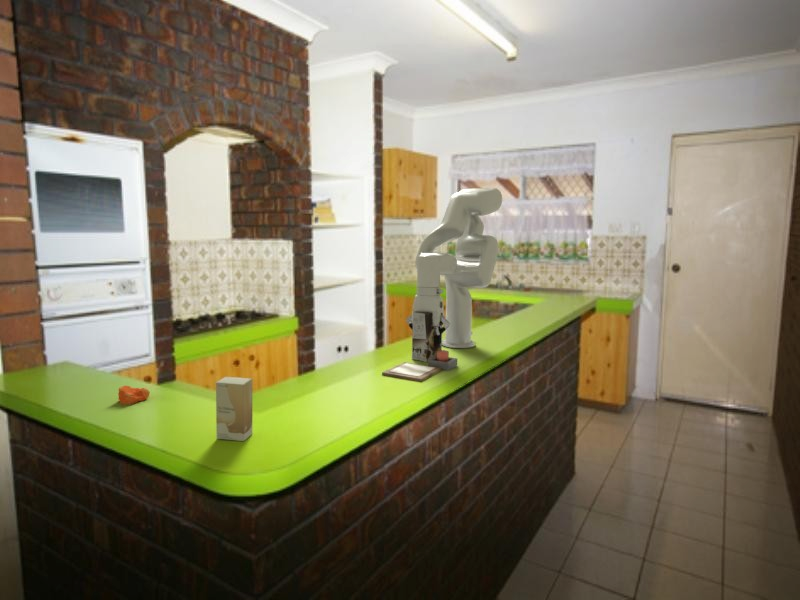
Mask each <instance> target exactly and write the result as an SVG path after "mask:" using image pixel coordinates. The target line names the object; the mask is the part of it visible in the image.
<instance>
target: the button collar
mask: <svg viewBox="0 0 800 600" xmlns="http://www.w3.org/2000/svg"><path fill="white" fill-rule="evenodd" d="M427 366H433V367H440V368H442V370H441V371H447V372H449V371H451V370H452V369H454V368H456V367H458V358H456V357H450V356H449V361H447V362H444V361H437V356H436V357H434V358H432V359H429V360H428V362H427Z"/></svg>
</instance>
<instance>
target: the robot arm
mask: <svg viewBox="0 0 800 600" xmlns="http://www.w3.org/2000/svg"><path fill="white" fill-rule="evenodd" d="M502 202H503V195H502V192H501V190H499V189H498V188H497V187H496V188H495V187H484V188H483V187H479V188H478V187H475V188H473V187H472V188H465V189H461V190H460V191H459V192H455V193H454V194H452V195H451V197H450V199H449V201H448V204H447V207H446V209H445V212H444V215H443V217H442V220H441V223H440V225H439V226H437V228H435V229H433V230H432V231H431V232H430V233H429V234H428V235H427V236H425V238H424V239H422V240H423V241H422V242H421V244H420V245H419V248H418V251H417V254H416V257H415V263H414V265H415V269H416V273H417V274H416V275H417V276H416V295H414V300H413V304H412V311H411V314H410V315H409V316H408V317H406V319H405V322H406V323H407V324H408V327H409V328H410V329H411V332H412V333H413V312H430V313H433V327H434V330H435V332H436V335H435V340H434V346H435V347H438V346H440V344H441V334H442V335H443V333H444V332H445V333H444V334H445V335H444V336H445V337H444V339H442V346H443V347H445V348H451V349H468V348H469V349H470V348H473V347H474V346H475V345H476V342H475V341H474V340H472V336H473V334H474V333H473V331H472V310H473V309H472V308H473V307H472V306H473V297H472V294H471V293H470V291H469V289H468V288H477V289H481V288H482V289H484V288H487V287H488V286H490V284H491V281H492V279H493V275H494V271H495V267H496V263H497V260H498V259H497V258H498V254H499V242H498V240H497V238H496V237H494V236H493V235H488V234H483V233H484V230H485V225H484V223H483V221H482V218H481V216H482V217H484V216H487V215H488V216H489V215H491V214H493V213H495V212H497V211H498V210H500V209H501V206H502ZM454 240H456V244H455V248H454V253H455V256H456V257H455V256H454V255H453V254H451V253H448V252H447V253H445V252H435V250H437V248H440V247H442V245H444V244H447V243H451V242H453V241H454ZM457 258H458V259H459V260H458V259H457ZM441 276H444V282H445V289H446V290H445V294H446V295H445V297H446V299H445V307H444V299H443V296H440V295H441V294H444V289H442V288H441V286H440V285H441ZM440 322H441V323H440ZM440 325H442V328H441V326H440Z"/></svg>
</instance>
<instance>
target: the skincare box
mask: <svg viewBox="0 0 800 600" xmlns="http://www.w3.org/2000/svg"><path fill="white" fill-rule="evenodd" d="M215 402H216V404H215V405H216V406H215V407H216V408H215V412H216V413H215V415H216V416H215V417H216V422H215V423H216V427H215V429H216V439H218V440H228V441H236V442H237V441H239V442H244V441H246V440H247V439H248V438H250V437H251V436H252V435H253V378H247V377H232V376H224V377H223V378H221V379H219V380H217V381H216V382H215Z"/></svg>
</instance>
